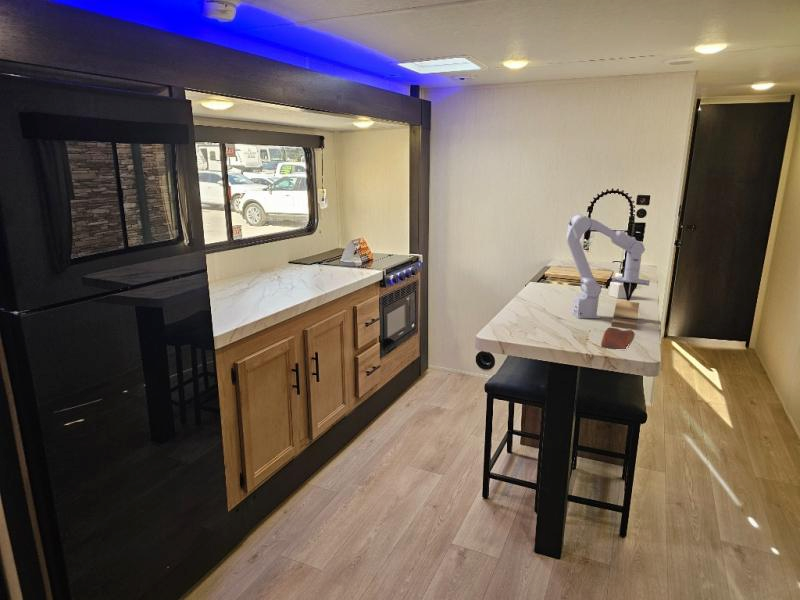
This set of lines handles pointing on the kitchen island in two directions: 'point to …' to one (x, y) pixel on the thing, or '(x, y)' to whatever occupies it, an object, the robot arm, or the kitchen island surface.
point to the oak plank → (626, 309)
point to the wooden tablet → (616, 338)
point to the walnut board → (624, 322)
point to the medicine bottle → (617, 288)
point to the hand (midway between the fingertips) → (628, 300)
